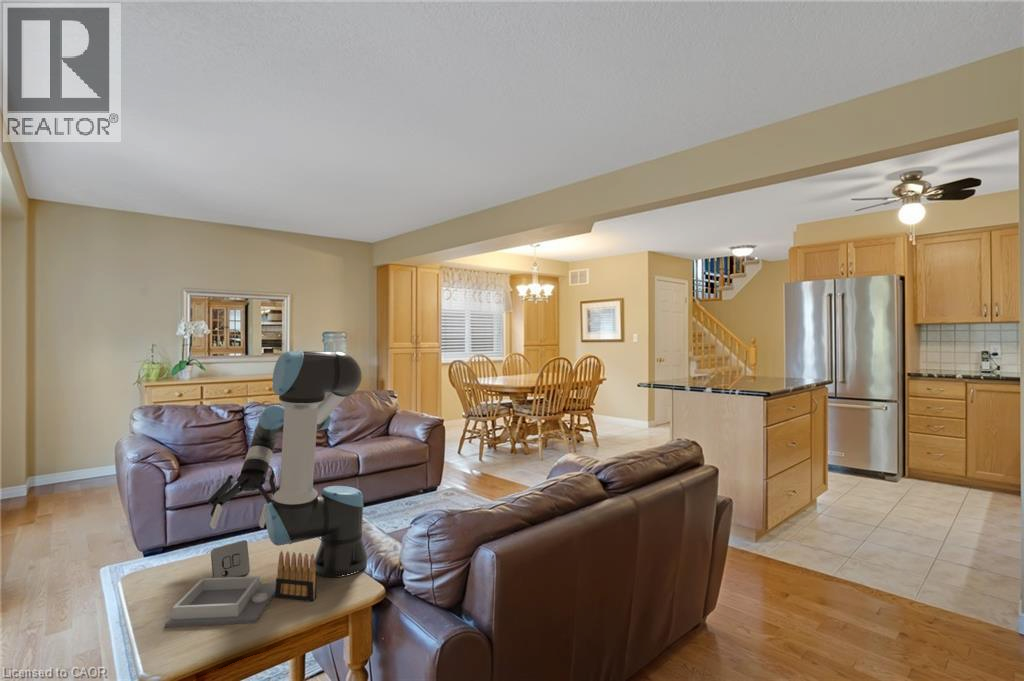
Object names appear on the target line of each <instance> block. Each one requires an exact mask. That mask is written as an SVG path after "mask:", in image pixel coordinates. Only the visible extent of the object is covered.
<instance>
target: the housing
mask: <svg viewBox="0 0 1024 681" xmlns="http://www.w3.org/2000/svg"><path fill="white" fill-rule="evenodd" d="M275 590H276V582H274V583H273V582H272V583H271V582H270V583H261V576H257V575H256V576H239V577H229V578H213V577H206V578H205V577H204V578H200V580H199V581H197V582H196V584H194V585H193V587H192V588H190V590H188V591H187V592H186V593H185V595H184V596H182V598H180V599H179V600H178V601H177V603H175V604H174V606H172V607H171V608H172V609H171V610H172V614H171V617H170V618H169V619H168V620H167V621H166V622H165V623H164V628H171V627H172V628H174V627H192V626H193V627H194V626H195V627H196V626H215V625H216V626H217V625H233V624H235V625H236V624H238V625H239V624H255V623H257V622H258V621H259V619H260V617H261V616H262V614H263V612H264V611H265V610H266V608H267V607H268V605H269V604H270V602H271V601H272V599H273V597H275Z"/></svg>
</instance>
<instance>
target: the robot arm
mask: <svg viewBox="0 0 1024 681" xmlns="http://www.w3.org/2000/svg"><path fill="white" fill-rule="evenodd" d="M275 362H276V363H275V364H274V368H273V373H272V390H273V392H274V394H275V395H277V396H278V400H279V402H280V403H282V404H283V405H284V406H282V405H278V404H273V405H272V404H270V405H268V406H266V407H265V408H264V409H263V411H262V412H261V415H260V416H259V419H258V422H257V424H256V426H255V429H254V431H253V436H252V439H251V442H250V445H249V447H248V451H247V454H246V456H245V459H244V462H243V465H242V467H241V471H240V474H239V476H233V475H232V474H229V475H228V477H227V479H226V480H225V482H224V483H223V484H222V485H221V486H220V487H219V489H217V491H215V492H214V493H213V495H212V496H211V497H210V498H209V499H208V501H207V502H208V503H209V505H210V506H211V507H212V508H211V511H210V516H211V520H210V522H209V526H210V527H211V529H212V530H216V528H217V525H218V521H219V518H220V516H221V513H222V511H223V505H225V504H226V503H227V502H229V501H230V500H231V499H232V498H234V497H235V496H236V495H237V494H239V493H240V494H241V492H243V491H244V492H248V491H250V492H255V491H257V490H258V492H259V493H260V495H261V496H262V497H263V499H264V500H265V503H264V504H263V508H262V512H261V515H260V518H259V521H258V526H259V528H260V529H264V527H265V526H266V530H267V534H268V536H269V537H268V538H269V539H270V541H271V543H272V545H274V546H284V545H292V544H295V543H300V542H303V541H308V540H313V539H318V538H320V543H319V547H318V549H317V552H316V555H315V557H314V558H315V574H317V575H318V576H321V577H326V578H338V577H337V576H342V575H347V574H351V573H354V572H357V571H360V572H362V571H363V570H364V569H366V567H367V566H368V553H367V551H366V547H365V544H364V540H363V519H364V518H363V516H364V515H363V514H364V500H363V499H364V496H363V493H362V491H361V490H359V489H358V488H356V487H351V486H345V485H332V486H326V487H324V488H323V489H322V490H321V494H319V493H318V491H317V489H315V488H314V475H315V458H316V442H317V432H318V431H320V430H321V431H322V430H326V429H328V428H329V427H330V423H331V414H332V413H333V412H334V411H335V410H336V408H337V407H338V406H339V405H340V404H341V403H342V402H343V401H344V399H345V398H346V397H350V396H352V395H353V394H354V393H355V392H356V391H357V390H358V388H359V387H360V385H361V382H362V376H363V375H362V373H363V372H362V370H361V367H360V365H359V363H358V362H357V361H356V360H355V358H353V356H351V355H349V354H347V353H346V352H341V351H337V350H336V351H333V350H332V351H328V350H327V351H324V350H321V351H320V350H319V351H318V350H295V351H294V350H292V351H291V350H290V351H285V352H283V353H281V354H280V355H279V356H278V359H277V360H276V361H275ZM281 434H282V445H281V446H282V448H281V462H280V479H279V489H278V490H277V487H276V477H275V475H274V474H270V476H267V474H268V472H269V468H270V464H271V460H272V457H273V454H274V450H275V447H276V443H277V441H278V439H279V436H280V435H281ZM236 482H237V483H236ZM266 482H267V483H268V484H269V486H270V490H271V494H272V498H271V497H270V496H269V495H268V493H267V491H266V490H265V488H264V487H263V485H264V484H265V483H266ZM232 486H233V487H232ZM231 487H232V488H231ZM366 565H367V566H366Z"/></svg>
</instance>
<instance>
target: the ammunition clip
mask: <svg viewBox="0 0 1024 681" xmlns="http://www.w3.org/2000/svg"><path fill="white" fill-rule="evenodd" d="M284 558H285V559H284ZM315 558H316V557H315V554H313V553H312V554H311V556H310V558H309V555H308V553H305V555H304V557H303V555H302V552H299V554H298V557H297V556H296V553H295V551H294V552H293V553H292V556H291V555H290V552H289V551H286V553H285V557H284V553H283V551H282V550H280V552H279V558H278V563H277V564H278V565H277V571H276V572H277V577H276V578H275V583H276V590H275V594H274V598H275V599H282V600H293V601H298V602H299V601H302V602H309V603H310V602H311V603H312V602H314V601H315V600H316V599H317V578H316V572H315ZM309 559H310V560H309Z"/></svg>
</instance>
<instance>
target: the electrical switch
mask: <svg viewBox="0 0 1024 681" xmlns="http://www.w3.org/2000/svg"><path fill="white" fill-rule="evenodd" d="M210 561H211V572H212V578H229V577H243V576H244V575H248V574H249V573H250V571H251V567H250V558H249V546H248V540H245V539H242V540H239V541H235V542H231V543H229V544H225V545H222V546H217V547H214V548H212V550H211V551H210Z"/></svg>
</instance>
